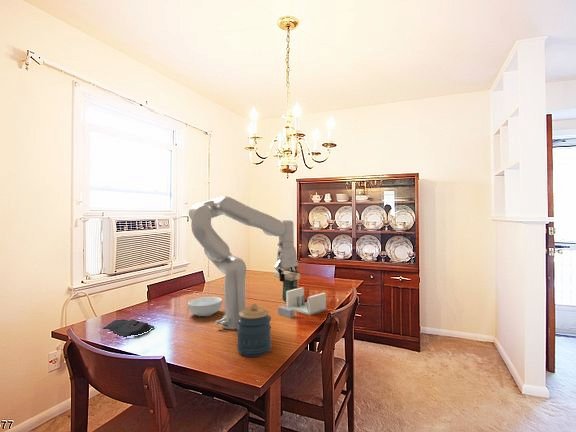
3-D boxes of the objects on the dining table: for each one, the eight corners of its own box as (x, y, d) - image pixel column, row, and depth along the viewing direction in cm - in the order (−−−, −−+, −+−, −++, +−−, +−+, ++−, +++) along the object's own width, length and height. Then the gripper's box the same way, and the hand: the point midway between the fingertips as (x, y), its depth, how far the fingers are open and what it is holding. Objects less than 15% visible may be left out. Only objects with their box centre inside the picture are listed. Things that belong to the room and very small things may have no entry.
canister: (230, 354, 115) (229, 306, 115) (247, 340, 127) (246, 297, 127) (262, 360, 111) (261, 310, 110) (276, 345, 123) (276, 300, 122)
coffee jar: (292, 302, 179) (291, 270, 179) (280, 300, 183) (280, 269, 183) (300, 298, 188) (299, 267, 188) (288, 296, 192) (288, 266, 192)
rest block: (289, 317, 154) (289, 310, 154) (278, 313, 161) (278, 306, 160) (294, 316, 156) (294, 309, 156) (282, 312, 163) (282, 305, 162)
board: (291, 280, 152) (291, 275, 152) (274, 276, 161) (274, 272, 161) (300, 278, 156) (300, 273, 156) (283, 275, 165) (283, 270, 165)
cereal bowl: (211, 307, 173) (211, 294, 173) (228, 313, 162) (228, 300, 161) (182, 314, 161) (182, 301, 161) (198, 322, 150) (198, 307, 150)
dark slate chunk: (126, 322, 153) (126, 312, 152) (158, 329, 142) (157, 319, 142) (95, 333, 139) (94, 323, 139) (127, 342, 129) (126, 331, 129)
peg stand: (310, 315, 157) (309, 297, 157) (286, 307, 170) (286, 291, 170) (326, 310, 165) (325, 293, 164) (302, 303, 178) (302, 287, 178)
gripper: (277, 246, 150) (278, 284, 150) (303, 243, 161) (304, 278, 161) (268, 245, 155) (269, 282, 156) (294, 242, 167) (294, 276, 167)
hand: (287, 279), depth 159 cm, fingers closed on board, 6 cm apart
